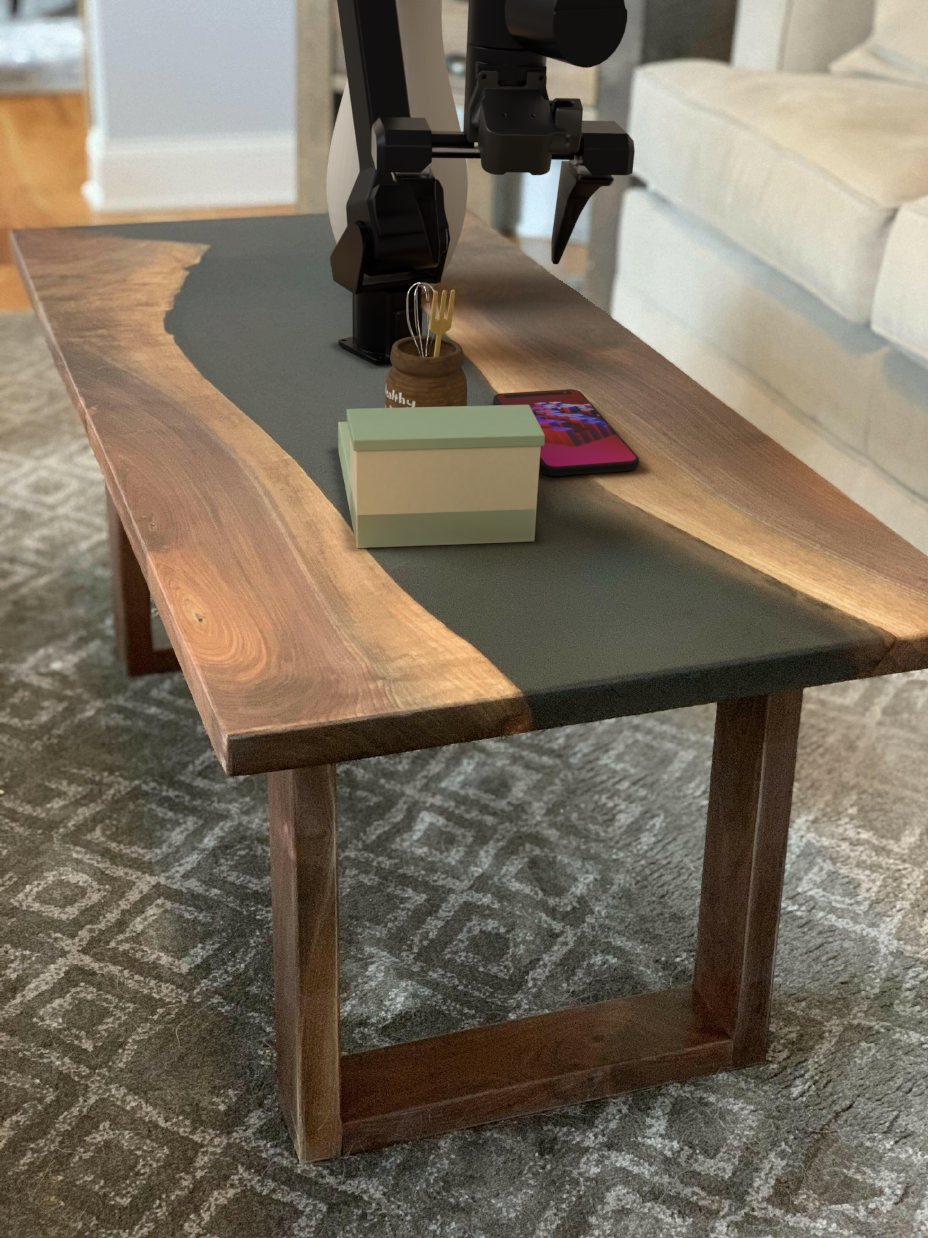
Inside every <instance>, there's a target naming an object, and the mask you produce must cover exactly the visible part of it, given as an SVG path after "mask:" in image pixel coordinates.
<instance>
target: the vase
mask: <svg viewBox="0 0 928 1238" xmlns="http://www.w3.org/2000/svg"><path fill="white" fill-rule="evenodd" d="M396 4H397V12H398V19H399V27H400V35H401V43H402V51H403V59H404V67H405V75H406V83H407V91H408V99H409V106H410V114H411V118H425V119H426V121H427V123H428V125H429V127H430V129H431V131H462V129H461V125H460V120H459V115H458V112H457V107H456V104H455V100H454V95H453V91H452V86H451V81H450V77H449V72H448V67H447V60H446V55H445V47H444V38H443V37H444V36H443V21H442V20H443V19H442V18H443V17H442V13H443V12H442V11H443V10H442V9H443V0H396ZM327 159H328V161H327V167H326V168H327V169H326V201H327V209H328V215H329V216H328V217H329V223H330V226H331V230H332V235H333V237H334V240H335V243H336V244H337V243H338V241H339V240H340V238H341V236H342V234H343V233H344V231H345V229H346V227H347V215H346V204H347V201H348V198H349V196H350V194H351V191H352V189H353V186H354V184H355V181H356V179H357V176H358V174H359V171H360V169H359V159H358V152H357V145H356V137H355V130H354V123H353V115H352V108H351V100H350V93H349V86H348V78H347V77H346V82H345V85H344V90H343V93H342V97H341V101H340V104H339V107H338V112H337V115H336V119H335V125H334V127H333V133H332V136H331V141H330V147H329V151H328V158H327ZM429 165H430V167H431V170H432V172H433V174H434V176H435V179H438V180H439V181H440V183H441V185H442V187H443V190H444V207H445V213H446V218H447V221H448V224H449V233H450V243H449V248H448V252H447V257H446V261H445V265H444V270H443V274H442V277H443V276H444V274H445V272H446V271H447V268H448V267H449V265H450V263H451V261H452V258H453V256H454V254H455V251H456V250H457V246H458V243H459V240H460V238H461V234H462V231H463V226H464V222H465V218H466V212H467V203H468V189H469V181H468V180H469V179H468V178H469V177H468V165H467V158H432V162H431V164H429ZM430 285H431V286H432V287H433V288H435V286H437V284H433V283H432V284H430ZM424 286H425V284H424ZM424 286H423V285H419V287H421V288H422V295H423V294H427V293H429V292H430V290H432V288H431V287H430V286H428V285H427V284H426V286H427V288H426V286H425V288H424ZM425 289H426V292H425ZM427 289H428V291H427Z"/></svg>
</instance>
